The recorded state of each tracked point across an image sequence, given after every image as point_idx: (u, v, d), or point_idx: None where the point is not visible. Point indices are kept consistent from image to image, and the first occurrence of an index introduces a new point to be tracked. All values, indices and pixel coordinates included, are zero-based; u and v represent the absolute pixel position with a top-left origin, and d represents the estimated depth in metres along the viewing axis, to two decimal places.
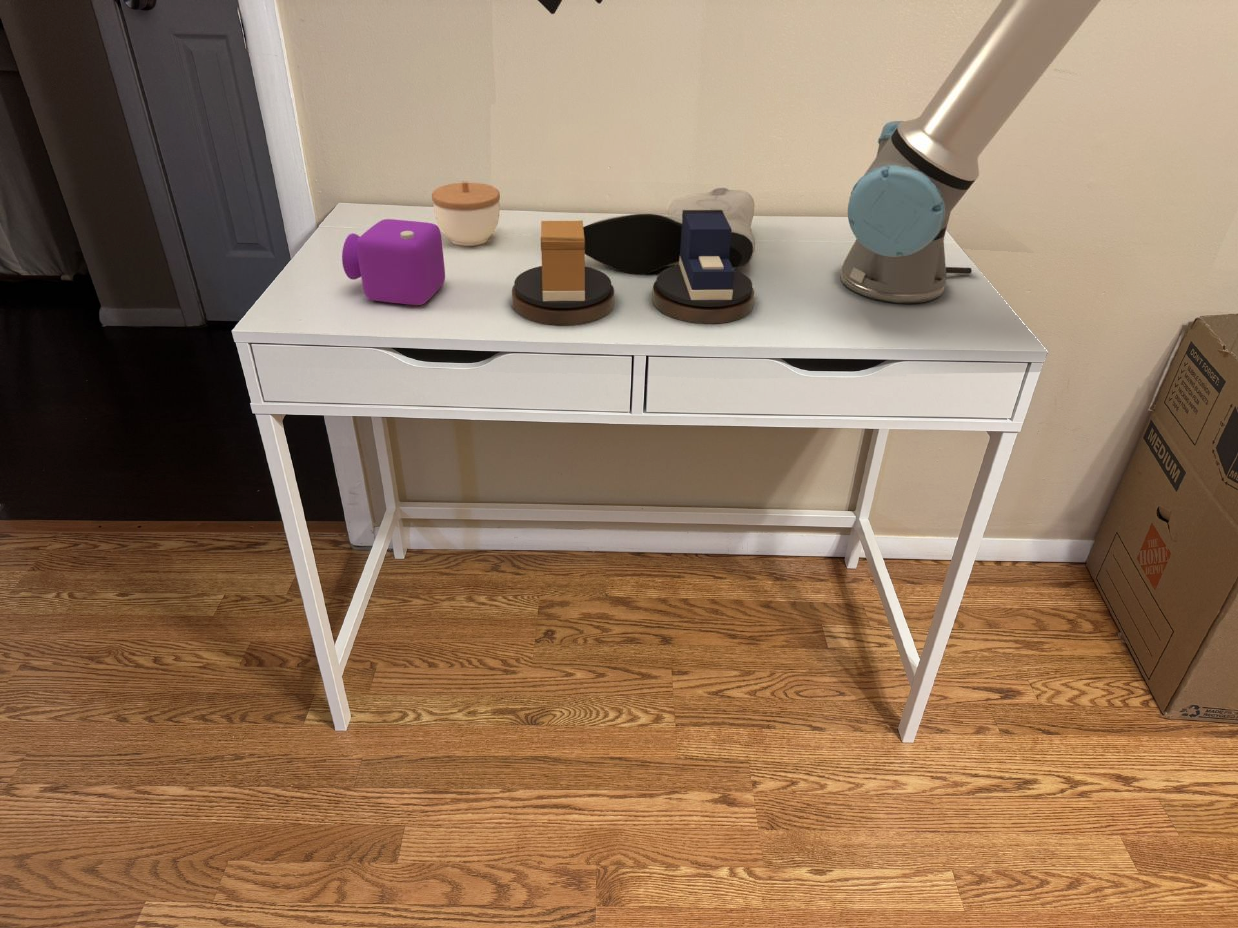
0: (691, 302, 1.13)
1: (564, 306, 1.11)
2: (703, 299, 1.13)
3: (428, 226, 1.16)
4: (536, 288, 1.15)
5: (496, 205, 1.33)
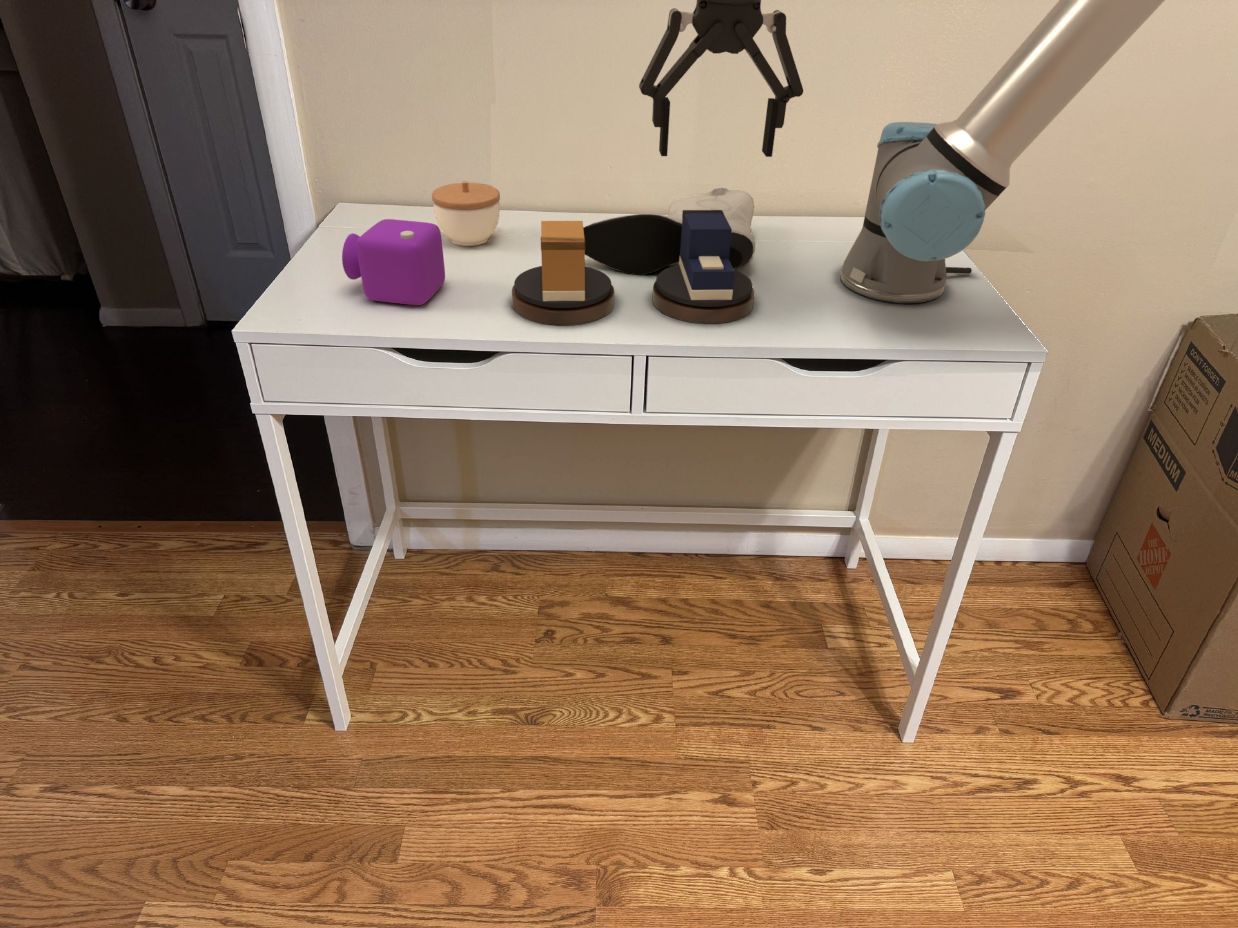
0: (691, 302, 1.13)
1: (564, 306, 1.11)
2: (703, 299, 1.13)
3: (428, 226, 1.16)
4: (536, 288, 1.15)
5: (496, 205, 1.33)
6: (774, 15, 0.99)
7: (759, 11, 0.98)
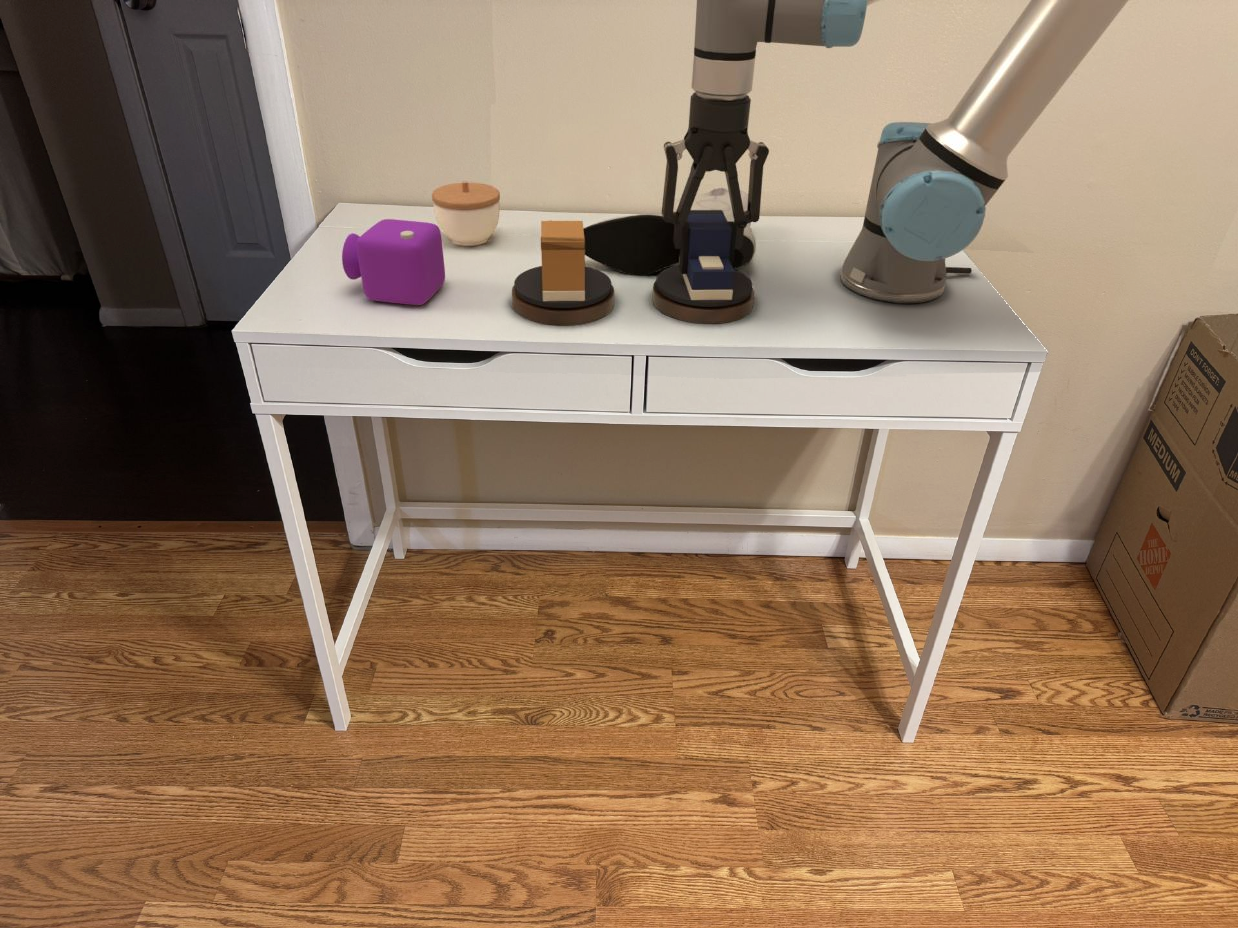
0: (691, 302, 1.13)
1: (564, 306, 1.11)
2: (703, 299, 1.13)
3: (428, 226, 1.16)
4: (536, 288, 1.15)
5: (496, 205, 1.33)
6: (759, 146, 1.07)
7: (746, 135, 1.06)
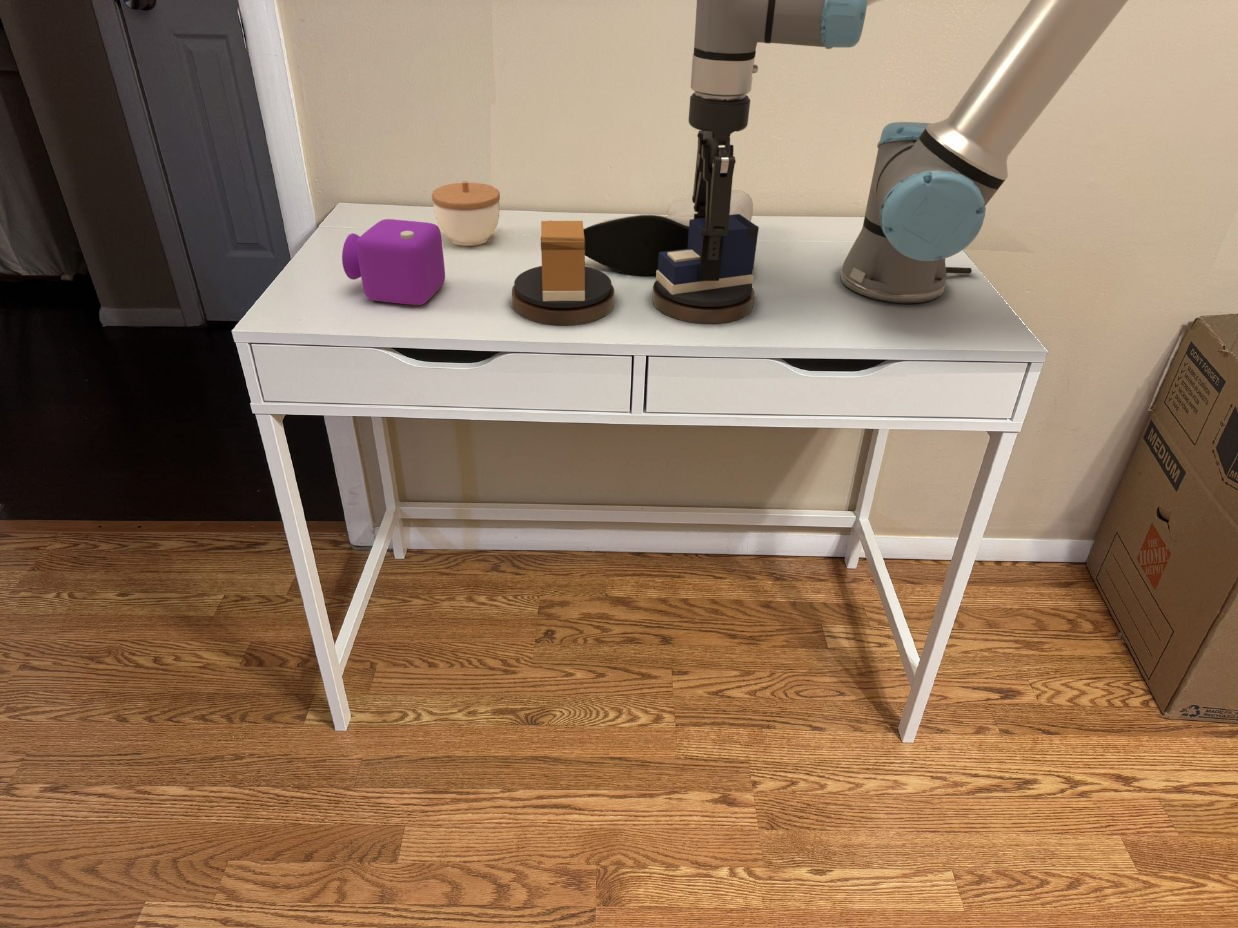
0: (656, 281, 1.18)
1: (564, 306, 1.11)
2: (660, 283, 1.17)
3: (428, 226, 1.16)
4: (536, 288, 1.15)
5: (496, 205, 1.33)
6: (720, 156, 1.02)
7: (714, 140, 1.03)
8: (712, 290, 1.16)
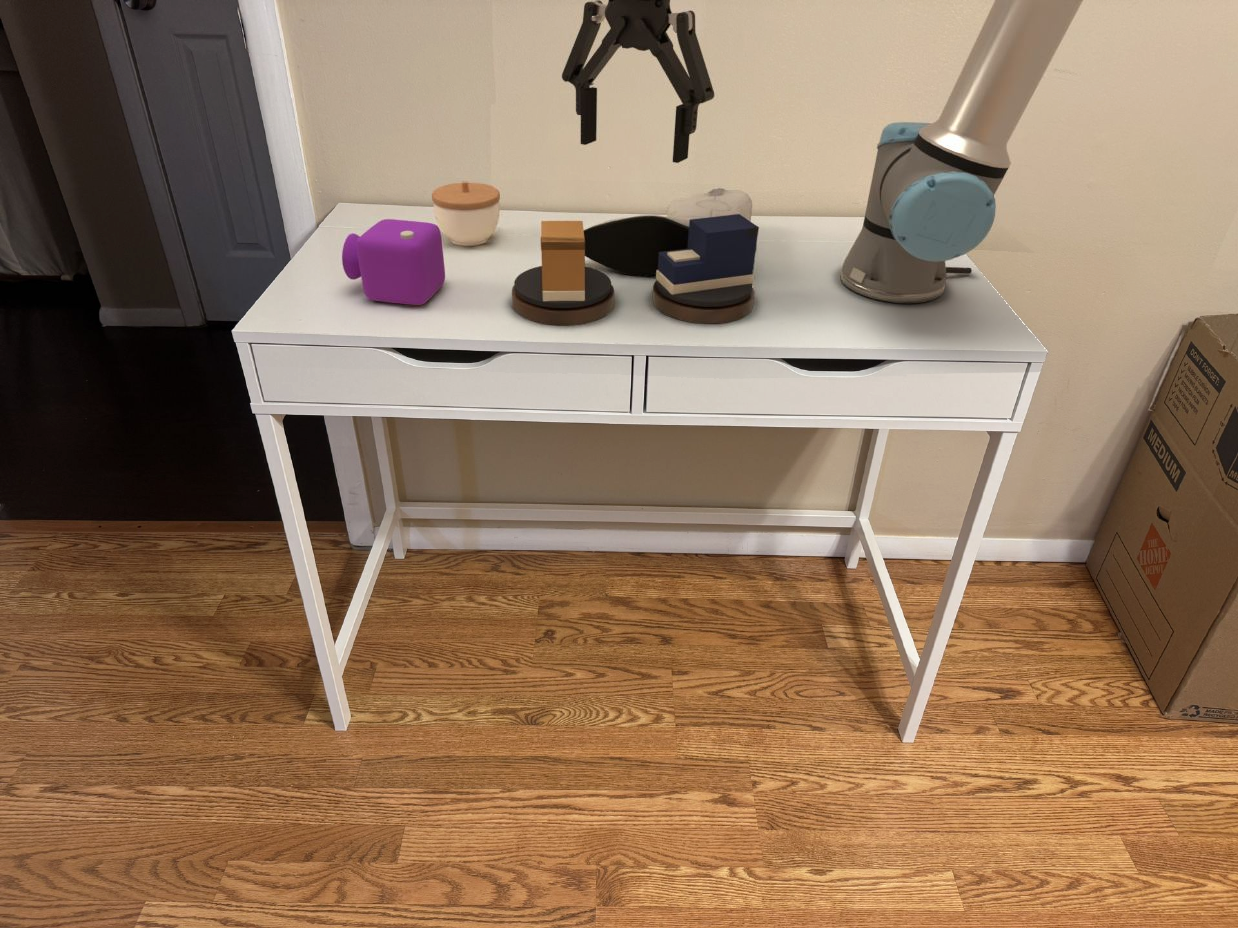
0: (656, 281, 1.18)
1: (564, 306, 1.11)
2: (660, 283, 1.17)
3: (428, 226, 1.16)
4: (536, 288, 1.15)
5: (496, 205, 1.33)
6: None
7: (661, 9, 0.95)
8: (712, 290, 1.16)
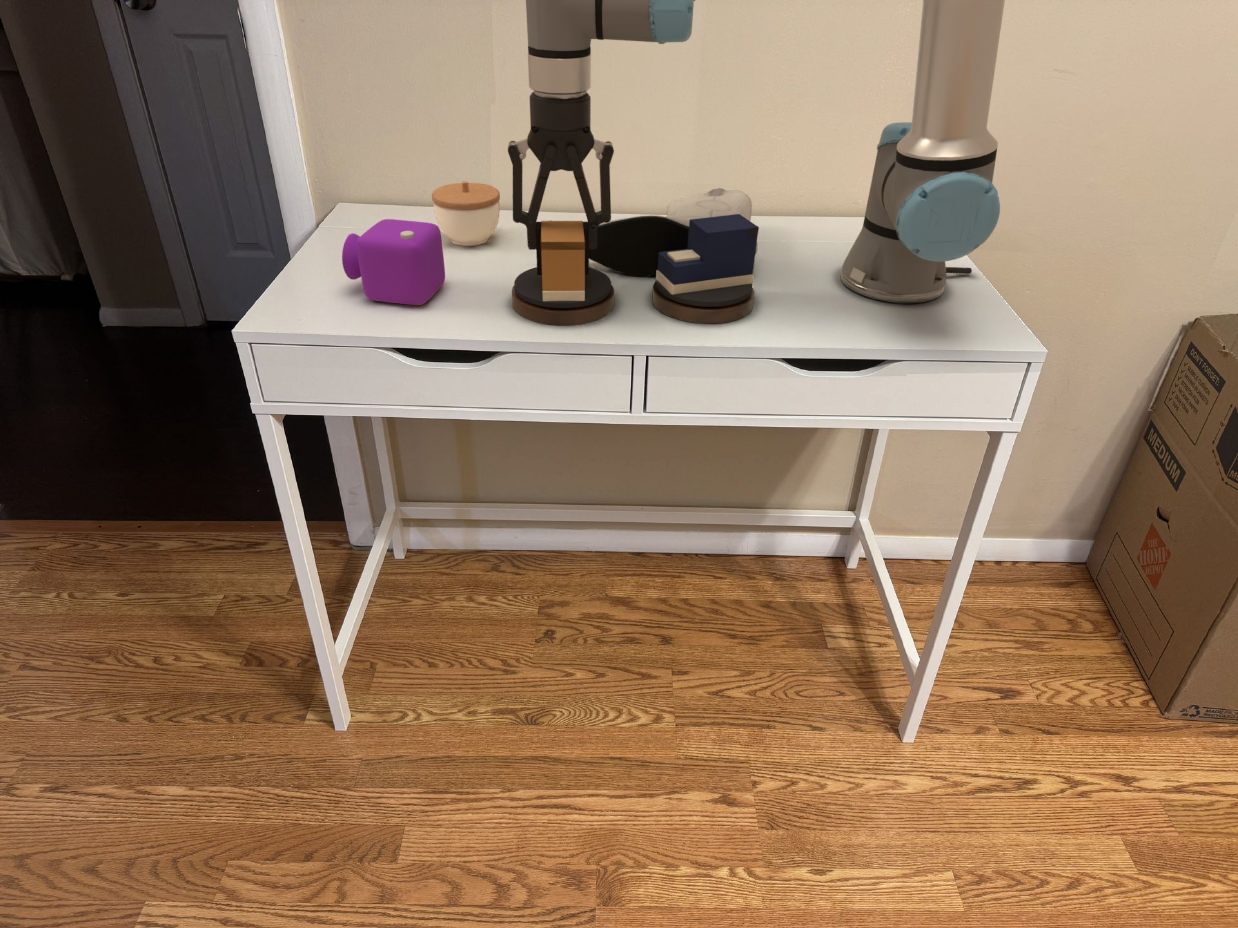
0: (656, 281, 1.18)
1: (564, 306, 1.11)
2: (660, 283, 1.17)
3: (428, 226, 1.16)
4: (536, 288, 1.15)
5: (496, 205, 1.33)
6: (604, 145, 1.06)
7: (589, 134, 1.04)
8: (712, 290, 1.16)
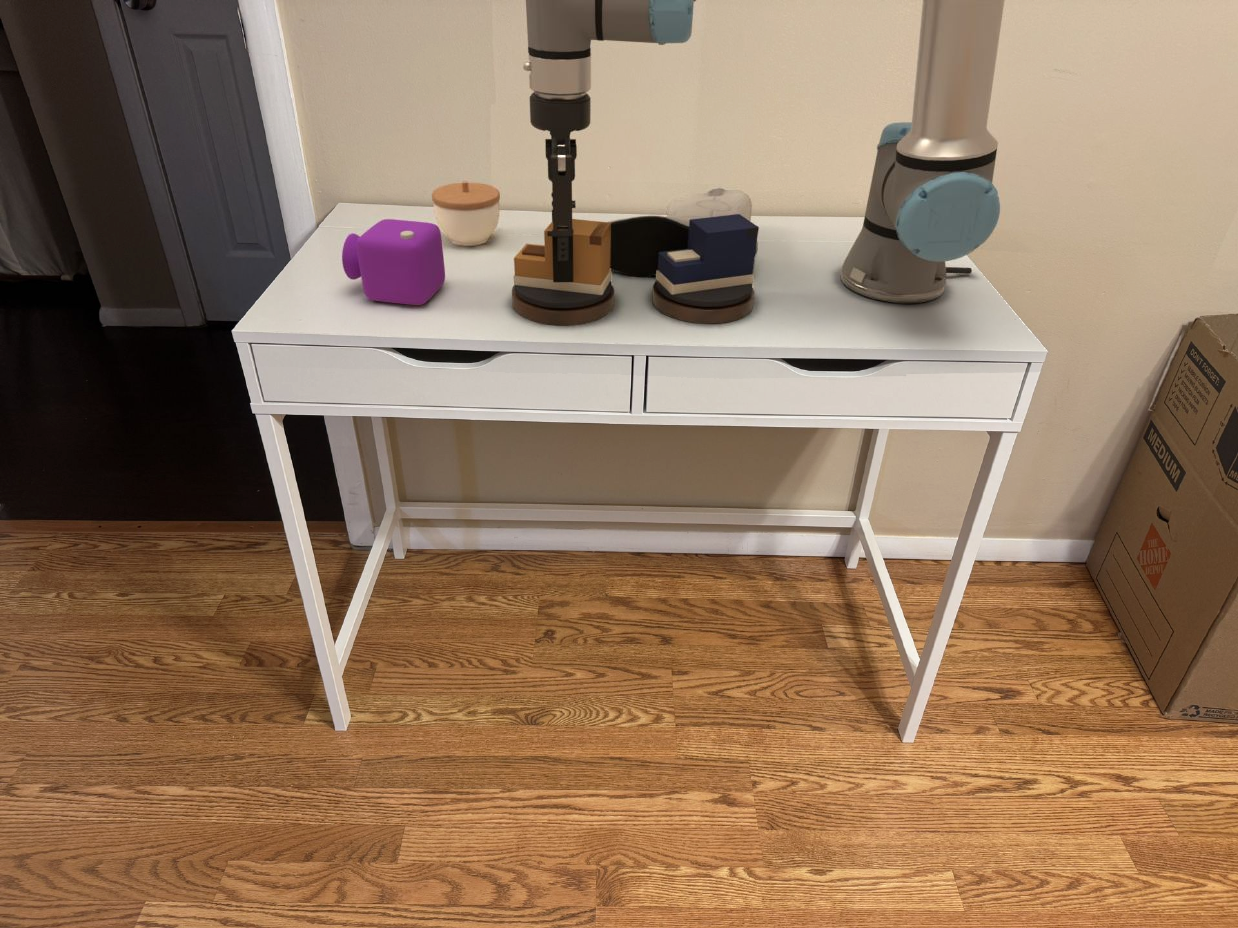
0: (656, 281, 1.18)
1: (610, 291, 1.16)
2: (660, 283, 1.17)
3: (428, 226, 1.16)
4: (569, 294, 1.13)
5: (496, 205, 1.33)
6: None
7: None
8: (712, 290, 1.16)
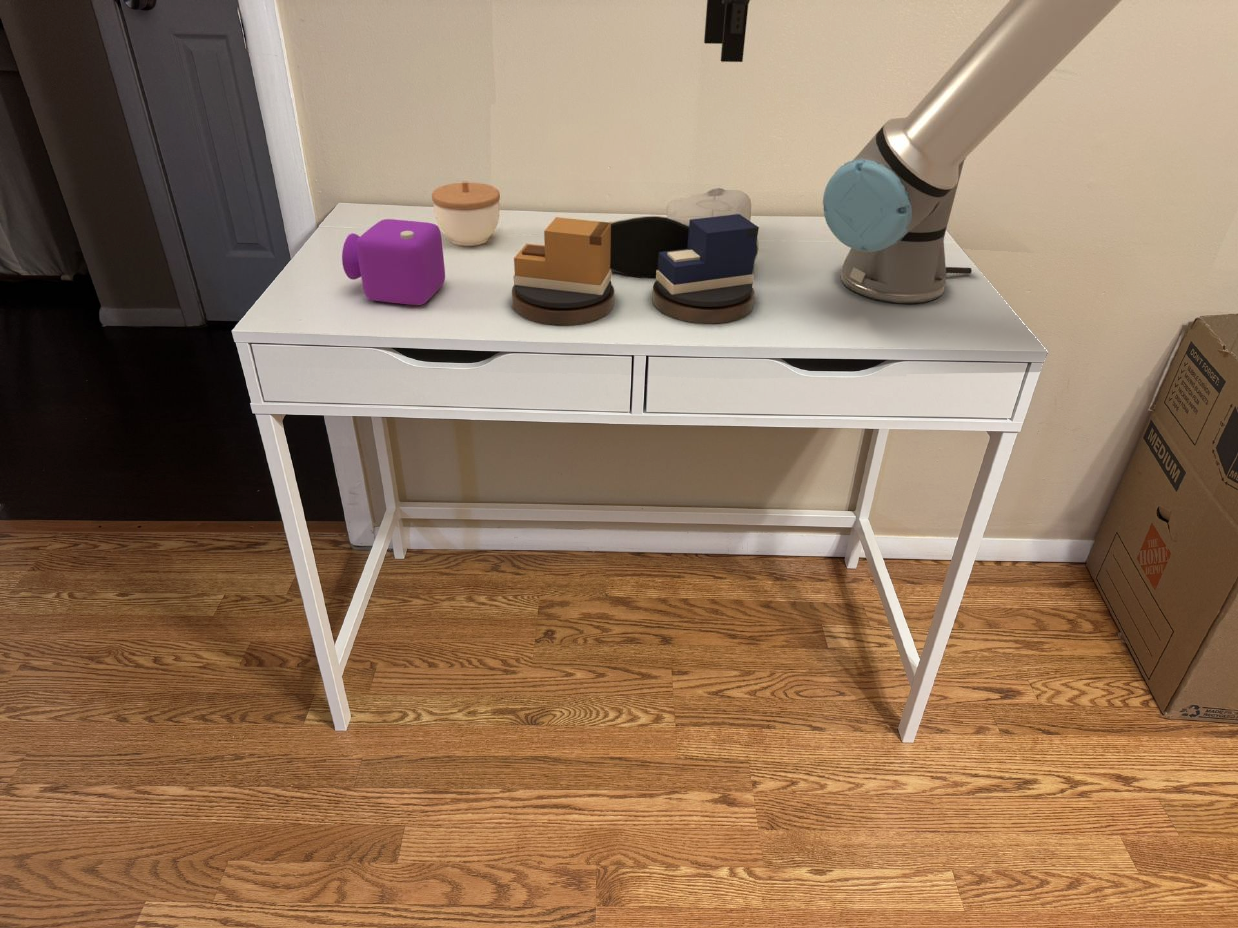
0: (656, 281, 1.18)
1: (610, 291, 1.16)
2: (660, 283, 1.17)
3: (428, 226, 1.16)
4: (569, 294, 1.13)
5: (496, 205, 1.33)
6: None
7: None
8: (712, 290, 1.16)
